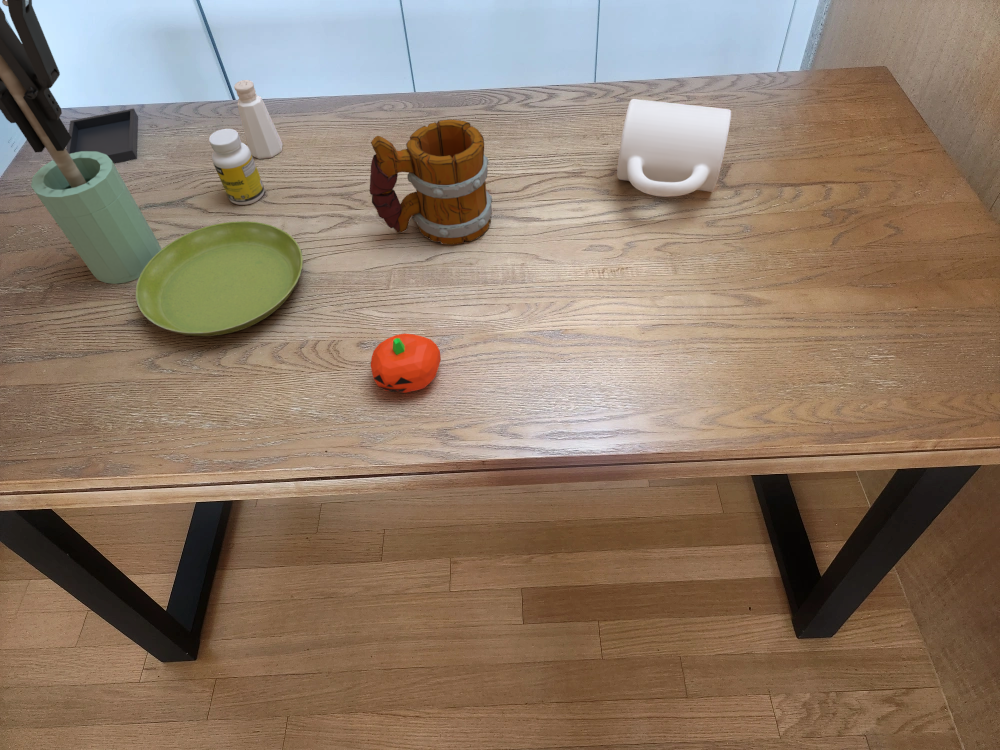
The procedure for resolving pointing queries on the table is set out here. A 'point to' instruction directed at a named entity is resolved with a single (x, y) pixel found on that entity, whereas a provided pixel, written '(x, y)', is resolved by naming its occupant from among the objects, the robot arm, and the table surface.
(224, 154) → the supplement bottle
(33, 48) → the robot arm
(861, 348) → the table surface
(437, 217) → the mug
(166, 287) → the saucer
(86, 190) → the jar
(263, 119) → the salt shaker
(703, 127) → the mug
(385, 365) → the pumpkin
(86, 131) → the tray
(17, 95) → the wooden handled plunger
